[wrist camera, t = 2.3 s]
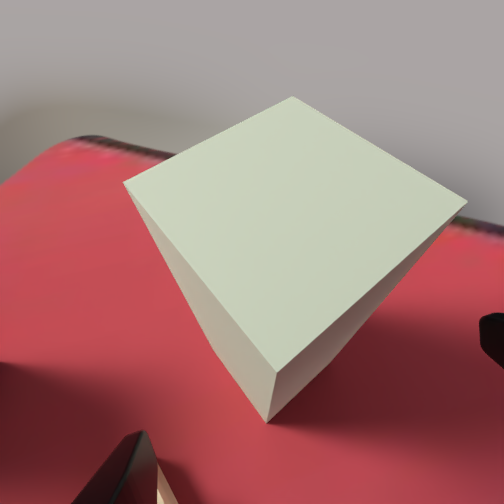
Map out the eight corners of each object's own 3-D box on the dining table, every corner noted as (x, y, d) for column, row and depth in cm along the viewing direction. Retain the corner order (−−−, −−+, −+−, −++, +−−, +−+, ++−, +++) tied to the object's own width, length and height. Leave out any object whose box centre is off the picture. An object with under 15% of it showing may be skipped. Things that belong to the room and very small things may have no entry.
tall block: (330, 362, 18) (468, 201, 6) (266, 423, 16) (276, 373, 4) (274, 302, 20) (292, 96, 8) (213, 350, 18) (123, 182, 6)
